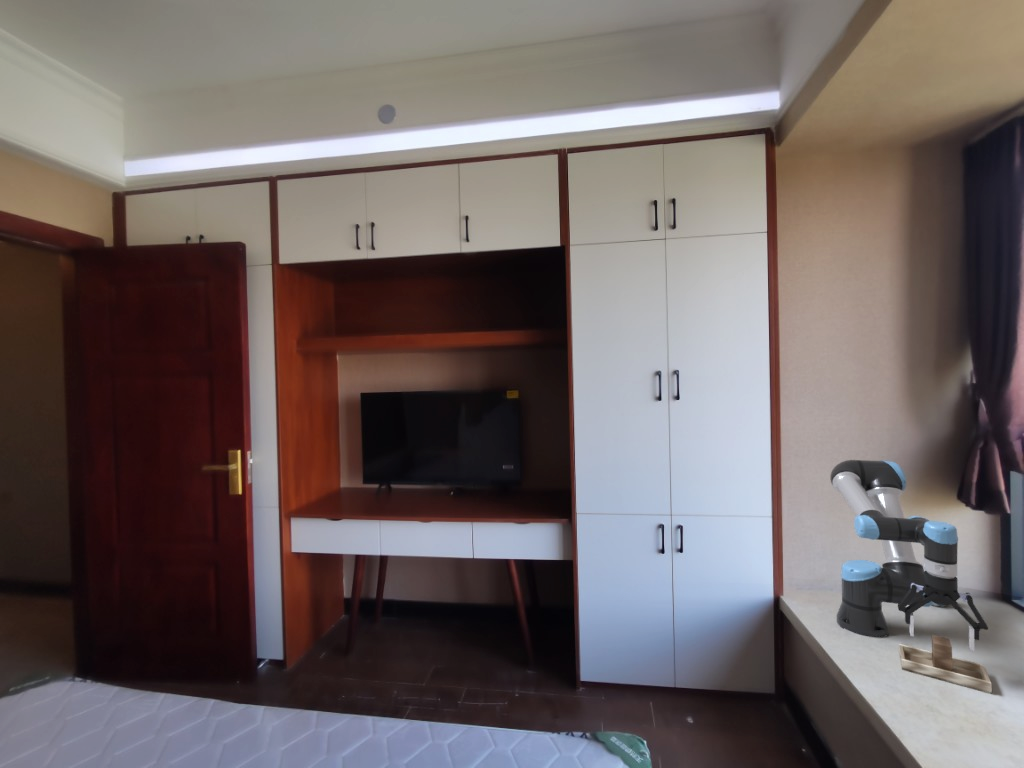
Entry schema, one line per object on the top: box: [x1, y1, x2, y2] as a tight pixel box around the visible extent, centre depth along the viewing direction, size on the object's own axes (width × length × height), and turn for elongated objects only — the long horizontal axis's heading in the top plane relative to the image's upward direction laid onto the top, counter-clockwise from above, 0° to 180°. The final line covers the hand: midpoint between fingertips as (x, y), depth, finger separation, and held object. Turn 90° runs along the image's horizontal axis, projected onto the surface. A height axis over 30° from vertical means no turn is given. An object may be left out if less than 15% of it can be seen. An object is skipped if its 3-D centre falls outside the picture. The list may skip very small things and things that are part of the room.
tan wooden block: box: [931, 634, 953, 672], centre depth 141 cm, size 4×6×9 cm, turn 142°
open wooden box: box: [898, 643, 993, 694], centre depth 141 cm, size 20×11×3 cm, turn 53°
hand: (940, 641), depth 142 cm, fingers open, 13 cm apart
